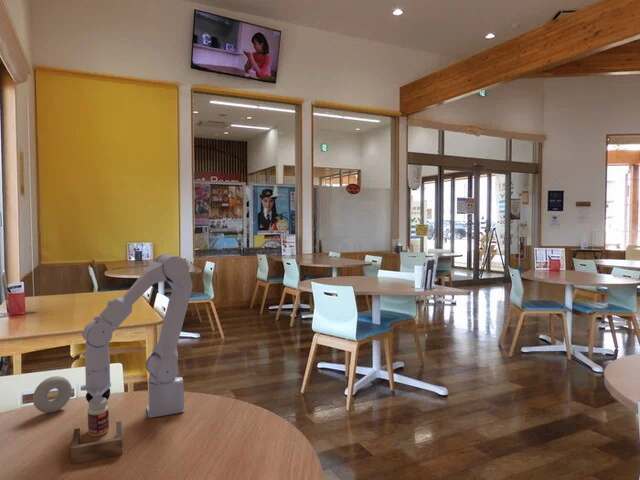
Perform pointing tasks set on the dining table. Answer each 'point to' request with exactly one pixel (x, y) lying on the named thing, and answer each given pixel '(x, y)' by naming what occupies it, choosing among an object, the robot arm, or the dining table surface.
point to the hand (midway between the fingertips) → (98, 419)
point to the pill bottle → (98, 417)
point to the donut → (43, 390)
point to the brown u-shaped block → (96, 447)
